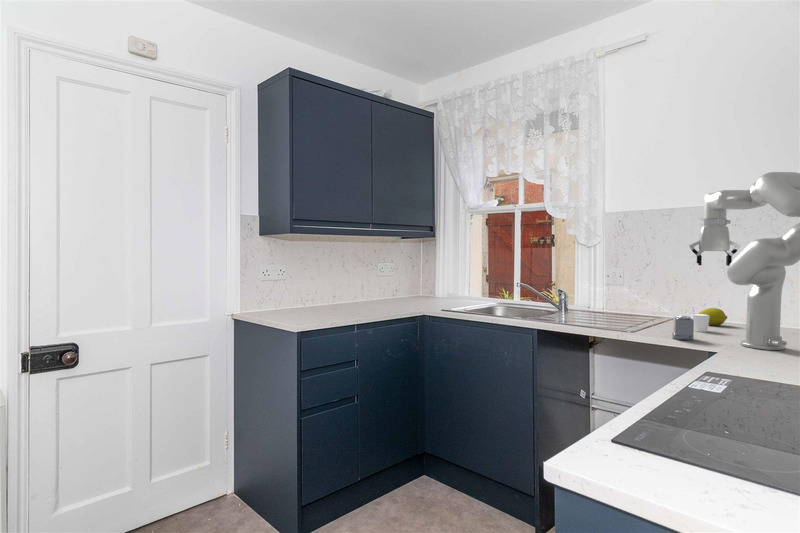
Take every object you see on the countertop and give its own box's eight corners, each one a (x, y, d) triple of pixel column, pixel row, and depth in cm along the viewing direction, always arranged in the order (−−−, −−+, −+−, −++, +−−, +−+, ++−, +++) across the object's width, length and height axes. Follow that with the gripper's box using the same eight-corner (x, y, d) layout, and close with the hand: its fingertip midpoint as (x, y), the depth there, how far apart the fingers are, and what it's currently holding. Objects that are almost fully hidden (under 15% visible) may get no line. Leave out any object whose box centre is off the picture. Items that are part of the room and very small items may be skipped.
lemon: (727, 325, 211) (728, 308, 211) (726, 327, 205) (727, 309, 204) (699, 323, 217) (699, 306, 217) (697, 325, 211) (698, 308, 211)
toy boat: (694, 341, 175) (695, 328, 174) (673, 339, 178) (673, 327, 177) (687, 332, 192) (688, 321, 192) (668, 331, 195) (668, 319, 195)
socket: (693, 335, 175) (693, 318, 175) (675, 334, 178) (675, 317, 178) (691, 333, 181) (691, 316, 180) (673, 332, 183) (673, 315, 183)
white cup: (693, 331, 195) (693, 315, 194) (687, 329, 201) (687, 313, 201) (711, 332, 193) (712, 316, 193) (705, 329, 200) (705, 313, 199)
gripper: (738, 223, 187) (737, 265, 188) (688, 224, 194) (687, 264, 195) (743, 222, 180) (741, 266, 181) (691, 223, 188) (690, 265, 188)
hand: (713, 265), depth 188 cm, fingers open, 9 cm apart
